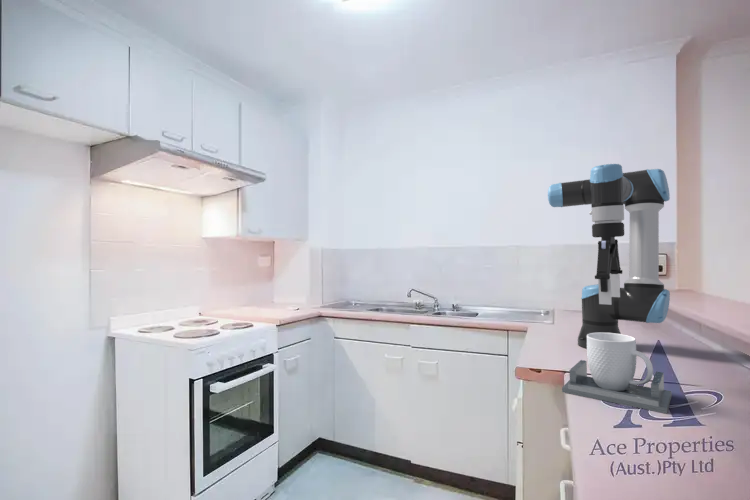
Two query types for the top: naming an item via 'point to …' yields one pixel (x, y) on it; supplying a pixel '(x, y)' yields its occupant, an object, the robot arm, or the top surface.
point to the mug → (614, 360)
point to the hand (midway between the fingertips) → (610, 300)
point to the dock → (631, 396)
